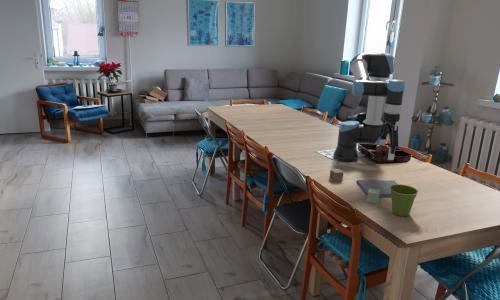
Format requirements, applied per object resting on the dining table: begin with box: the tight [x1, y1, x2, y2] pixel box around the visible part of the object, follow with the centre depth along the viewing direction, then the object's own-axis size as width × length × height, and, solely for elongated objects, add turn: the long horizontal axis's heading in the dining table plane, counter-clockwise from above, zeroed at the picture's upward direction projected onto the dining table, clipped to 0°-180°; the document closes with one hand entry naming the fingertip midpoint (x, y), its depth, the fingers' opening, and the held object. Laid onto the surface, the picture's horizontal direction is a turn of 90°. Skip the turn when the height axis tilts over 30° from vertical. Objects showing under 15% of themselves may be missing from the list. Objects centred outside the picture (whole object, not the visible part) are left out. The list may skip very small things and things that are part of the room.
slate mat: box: [356, 179, 398, 198], centre depth 204 cm, size 18×20×2 cm
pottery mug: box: [371, 144, 389, 163], centre depth 198 cm, size 12×10×8 cm
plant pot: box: [390, 183, 420, 217], centre depth 176 cm, size 12×12×11 cm
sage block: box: [366, 188, 380, 204], centre depth 189 cm, size 5×5×5 cm
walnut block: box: [329, 168, 344, 182], centre depth 215 cm, size 5×5×5 cm
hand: (385, 155), depth 199 cm, fingers closed on pottery mug, 12 cm apart
